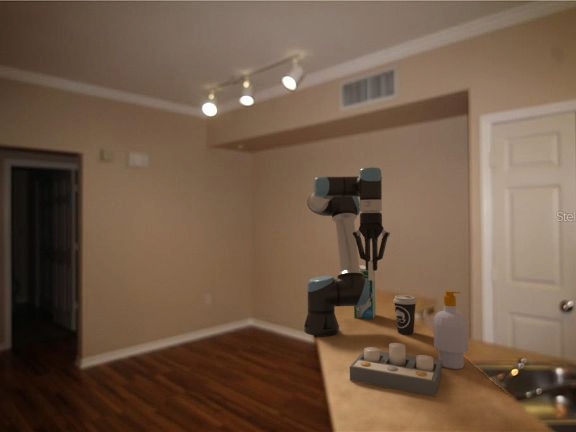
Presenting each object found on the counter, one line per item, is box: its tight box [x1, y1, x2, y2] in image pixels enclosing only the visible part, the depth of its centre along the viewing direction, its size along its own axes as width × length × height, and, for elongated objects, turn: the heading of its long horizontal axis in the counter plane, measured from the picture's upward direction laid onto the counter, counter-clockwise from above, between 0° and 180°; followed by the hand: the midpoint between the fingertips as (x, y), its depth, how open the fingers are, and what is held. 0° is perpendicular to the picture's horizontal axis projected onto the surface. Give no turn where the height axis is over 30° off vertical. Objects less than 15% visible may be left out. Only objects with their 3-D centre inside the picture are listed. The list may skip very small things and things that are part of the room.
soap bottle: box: [433, 290, 469, 370], centre depth 121 cm, size 10×10×24 cm
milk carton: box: [353, 264, 377, 320], centre depth 185 cm, size 9×9×25 cm
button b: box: [388, 342, 406, 367], centre depth 114 cm, size 5×5×6 cm
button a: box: [363, 346, 381, 362], centre depth 118 cm, size 5×5×6 cm
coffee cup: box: [392, 294, 418, 336], centre depth 157 cm, size 10×10×15 cm
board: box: [349, 350, 443, 397], centre depth 113 cm, size 24×17×4 cm
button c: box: [416, 354, 434, 371], centre depth 111 cm, size 5×5×6 cm
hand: (371, 279), depth 130 cm, fingers closed
